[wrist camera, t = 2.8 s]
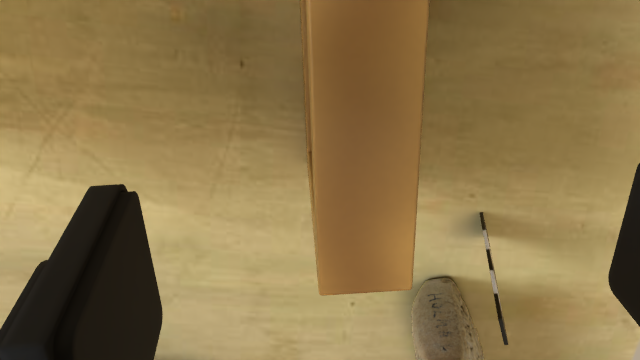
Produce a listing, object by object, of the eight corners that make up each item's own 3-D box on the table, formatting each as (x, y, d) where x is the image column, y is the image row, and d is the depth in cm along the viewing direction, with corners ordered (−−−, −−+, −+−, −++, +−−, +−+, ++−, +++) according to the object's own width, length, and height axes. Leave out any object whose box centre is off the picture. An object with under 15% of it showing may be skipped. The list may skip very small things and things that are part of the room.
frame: (377, -137, 21) (438, -136, 13) (372, 162, 26) (412, 291, 18) (293, -135, 20) (302, -131, 13) (307, 166, 26) (319, 296, 18)
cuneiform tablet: (482, 212, 28) (519, 377, 34) (392, 228, 29) (443, 385, 35) (502, 318, 22) (543, 497, 28) (387, 333, 23) (449, 502, 29)
